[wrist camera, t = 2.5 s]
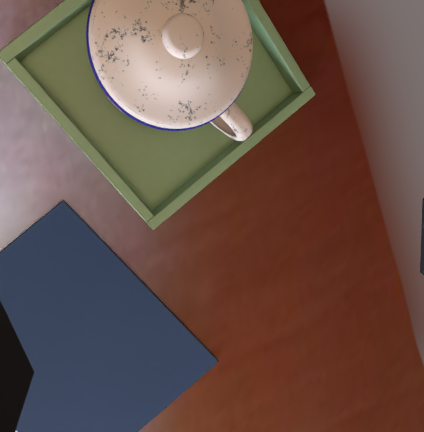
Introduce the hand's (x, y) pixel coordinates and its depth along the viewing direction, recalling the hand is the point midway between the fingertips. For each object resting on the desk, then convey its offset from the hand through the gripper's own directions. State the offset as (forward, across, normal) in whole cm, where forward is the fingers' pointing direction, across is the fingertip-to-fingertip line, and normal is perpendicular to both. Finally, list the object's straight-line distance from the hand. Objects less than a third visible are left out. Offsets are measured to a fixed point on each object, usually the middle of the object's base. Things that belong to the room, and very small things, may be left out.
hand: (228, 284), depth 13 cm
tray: (+22, -1, -5) cm, 22 cm away
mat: (+18, +12, +14) cm, 26 cm away
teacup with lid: (+22, -1, -5) cm, 22 cm away
